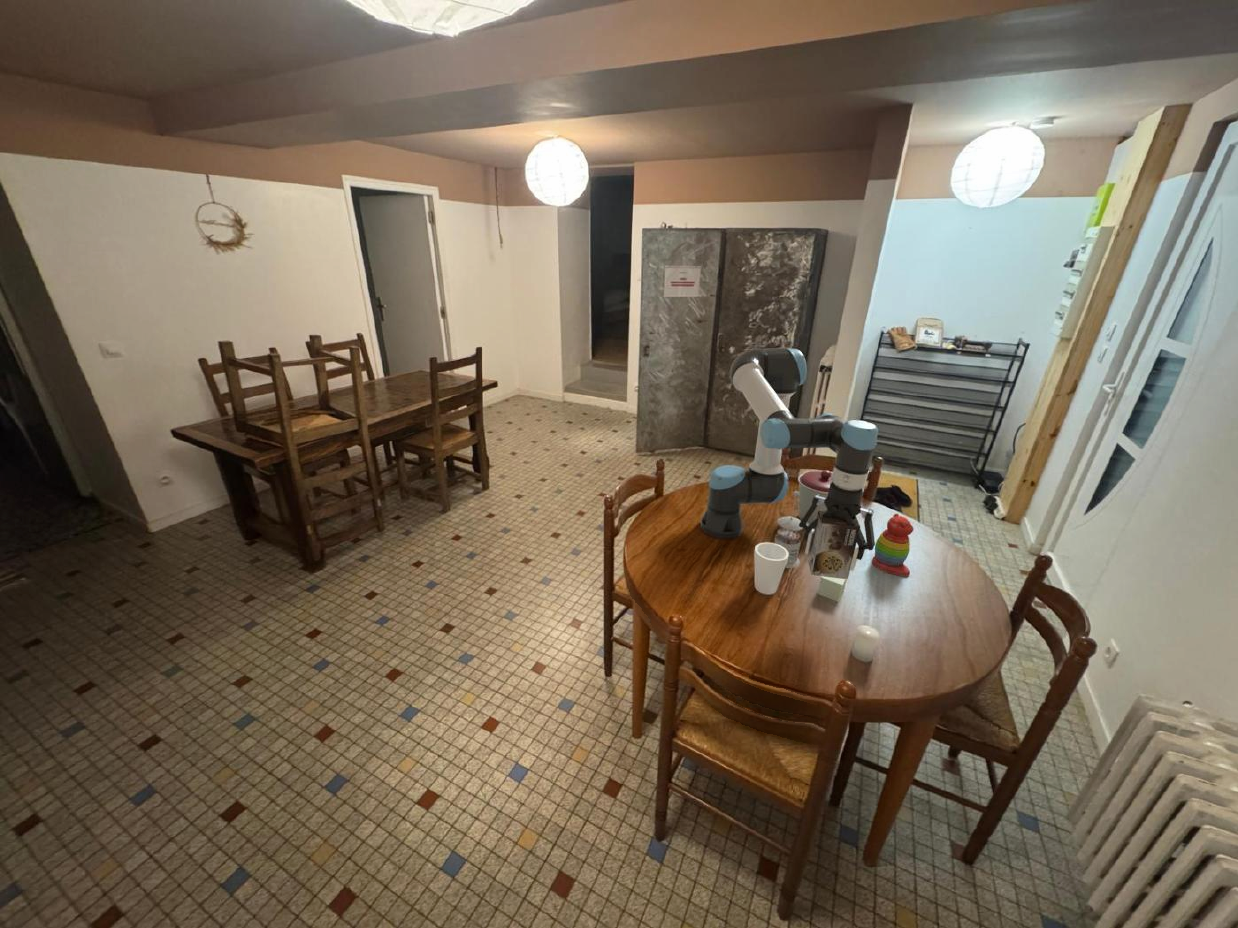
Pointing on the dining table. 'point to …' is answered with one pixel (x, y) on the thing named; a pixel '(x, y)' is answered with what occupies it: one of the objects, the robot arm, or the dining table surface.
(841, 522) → the coffee box
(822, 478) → the canister
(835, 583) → the sage block
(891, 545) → the stacking bear
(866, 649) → the white cylinder
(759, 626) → the dining table surface
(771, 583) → the foam cup
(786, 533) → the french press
